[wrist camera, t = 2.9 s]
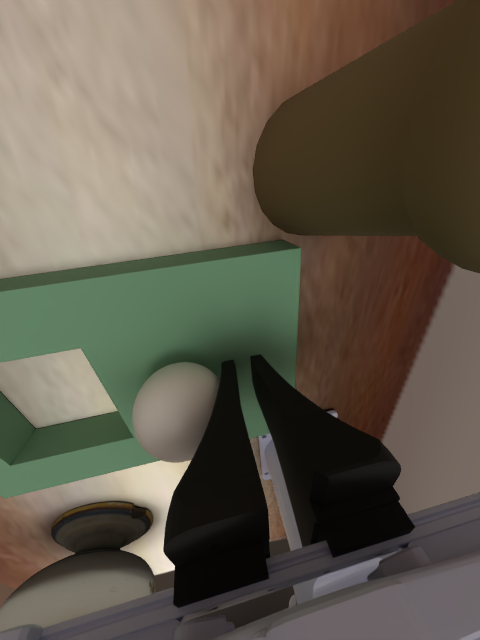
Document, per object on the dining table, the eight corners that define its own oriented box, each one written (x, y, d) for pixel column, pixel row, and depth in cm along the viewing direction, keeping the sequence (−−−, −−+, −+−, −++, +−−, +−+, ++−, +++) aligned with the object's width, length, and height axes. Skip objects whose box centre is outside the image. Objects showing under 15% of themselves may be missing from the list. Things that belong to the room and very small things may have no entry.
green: (282, 402, 19) (293, 427, 17) (28, 460, 17) (4, 498, 15) (282, 239, 12) (301, 247, 10) (-152, 300, 10) (-248, 328, 8)
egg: (234, 400, 13) (231, 481, 10) (165, 405, 14) (133, 485, 10) (224, 341, 11) (215, 413, 7) (143, 348, 12) (92, 421, 8)
